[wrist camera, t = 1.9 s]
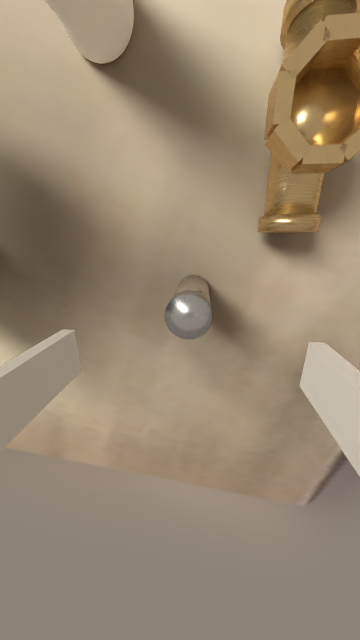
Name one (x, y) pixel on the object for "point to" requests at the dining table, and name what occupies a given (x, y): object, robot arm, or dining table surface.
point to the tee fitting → (311, 109)
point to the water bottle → (96, 26)
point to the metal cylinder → (190, 309)
